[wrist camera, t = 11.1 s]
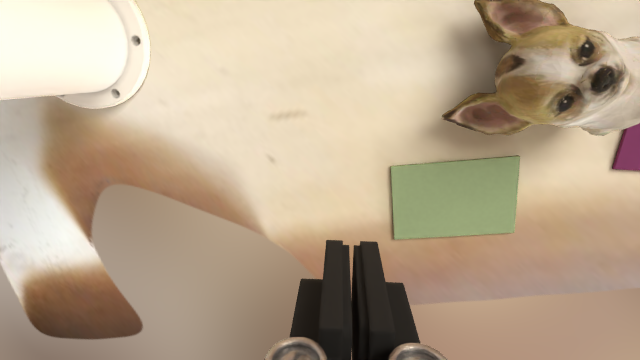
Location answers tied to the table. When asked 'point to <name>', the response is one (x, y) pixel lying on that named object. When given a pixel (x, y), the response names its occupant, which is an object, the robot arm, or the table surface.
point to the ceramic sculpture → (553, 74)
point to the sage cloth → (455, 198)
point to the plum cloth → (629, 150)
